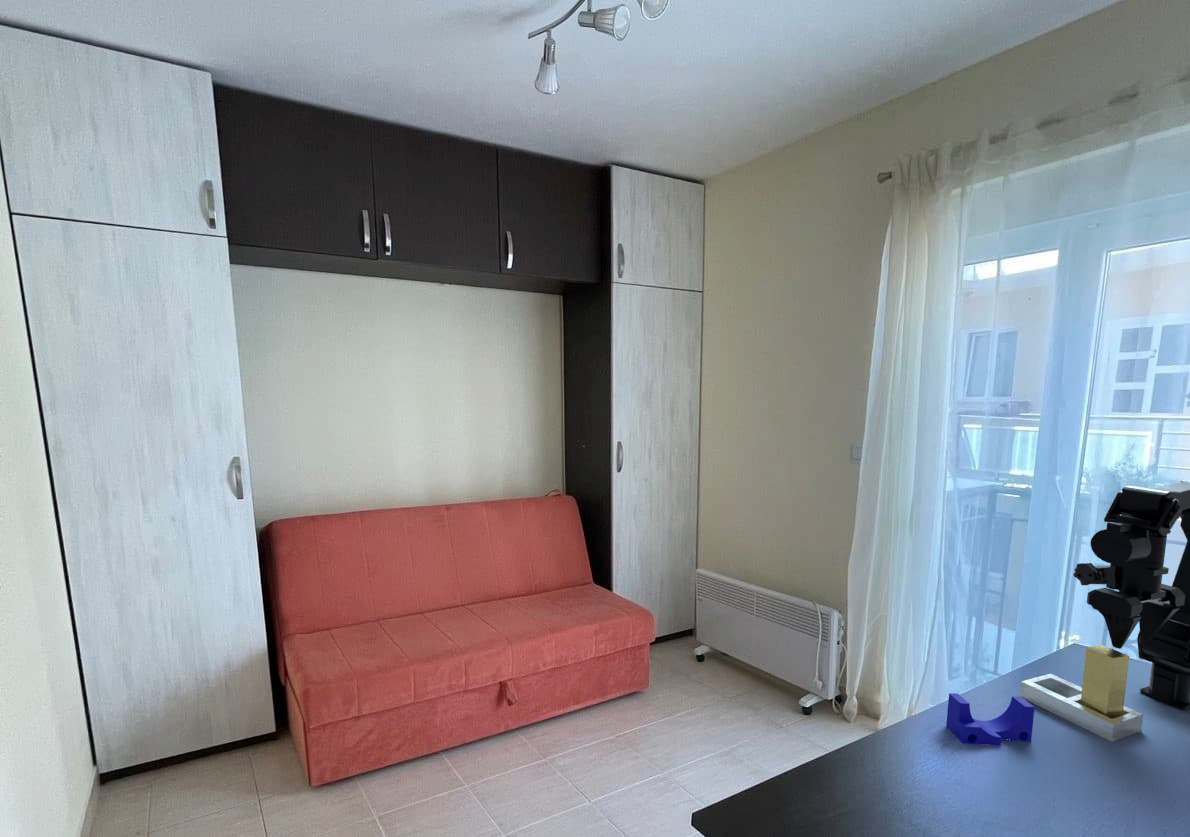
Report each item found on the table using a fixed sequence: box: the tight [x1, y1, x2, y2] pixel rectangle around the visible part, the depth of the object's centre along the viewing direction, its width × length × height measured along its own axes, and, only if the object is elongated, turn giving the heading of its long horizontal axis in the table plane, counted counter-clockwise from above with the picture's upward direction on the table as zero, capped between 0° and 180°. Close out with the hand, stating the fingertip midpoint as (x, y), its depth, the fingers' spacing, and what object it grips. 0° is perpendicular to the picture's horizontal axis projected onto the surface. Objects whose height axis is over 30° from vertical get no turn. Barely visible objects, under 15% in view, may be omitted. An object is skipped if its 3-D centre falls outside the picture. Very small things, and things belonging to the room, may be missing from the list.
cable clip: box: [945, 692, 1035, 746], centre depth 93 cm, size 12×4×6 cm, turn 89°
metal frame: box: [1019, 673, 1144, 743], centre depth 101 cm, size 9×14×3 cm, turn 23°
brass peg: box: [1080, 644, 1130, 719], centre depth 98 cm, size 4×4×13 cm
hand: (1131, 644), depth 100 cm, fingers open, 9 cm apart
